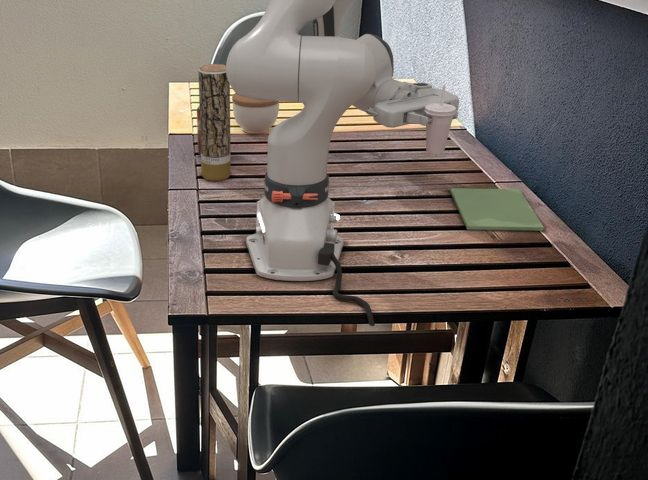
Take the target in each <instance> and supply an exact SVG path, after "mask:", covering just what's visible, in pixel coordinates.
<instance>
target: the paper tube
mask: <svg viewBox="0 0 648 480" xmlns="http://www.w3.org/2000/svg"><path fill="white" fill-rule="evenodd" d="M198 101H199V104H198V106H200V141H201V156H200V167H201V176H202V178H203V179H205V180H207V181H210V182H220V181H225V180H227V179H229V178H230V176H231V174H232V173H231V171H232V169H231V168H232V167H231V161H232V160H231V158H232V157H231V154H232V153H231V85H230V83H229V81H228V78H227V73H226V64H222V63H207V64H203V65H200V66H198Z"/></svg>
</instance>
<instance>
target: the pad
mask: <svg viewBox="0 0 648 480" xmlns="http://www.w3.org/2000/svg"><path fill="white" fill-rule="evenodd" d="M449 192H450V195H451V197H452V199H453V202H454V204H455V206H456V208H457V210H458V212H459V215H460V217H461V219H462V221H463V224H464V226H465V228H466V230H467V231H468V230H473V231H475V230H476V231H477V230H479V231H488V230H489V231H532V232H533V231H537V232H539V231H540V232H544V229H545V227H544V225H543V224H542V222H541V221H540V219H539V217H538V216H537V214H536V212H535V211H534V209H533V208H532V205H530V203H529V201H528V200H527V198H526V197H525V195H524V194H523V192H522V190H521V189H520V188H464V187H463V188H462V187H461V188H460V187H457V188H455V187H451V188H450V189H449Z"/></svg>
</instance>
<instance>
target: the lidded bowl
mask: <svg viewBox="0 0 648 480" xmlns="http://www.w3.org/2000/svg"><path fill="white" fill-rule="evenodd" d="M231 101H232V112H233V117H234V120H235V122H236V124H237V125H238V126H239V127H240V128H241V129H242V131H243V132H245V133H247V134H253V135H254V134H255V135H258V134H264V133H267V132H269V131H270V129H271V128H272V127H273V126H274V124H275V123H276V122H277V119H278V117H279V111H280V101H261V100H257V99H252V98H248V97H244V96H240V95H237V94H236V92H235V93H233V94H232V96H231Z"/></svg>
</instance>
